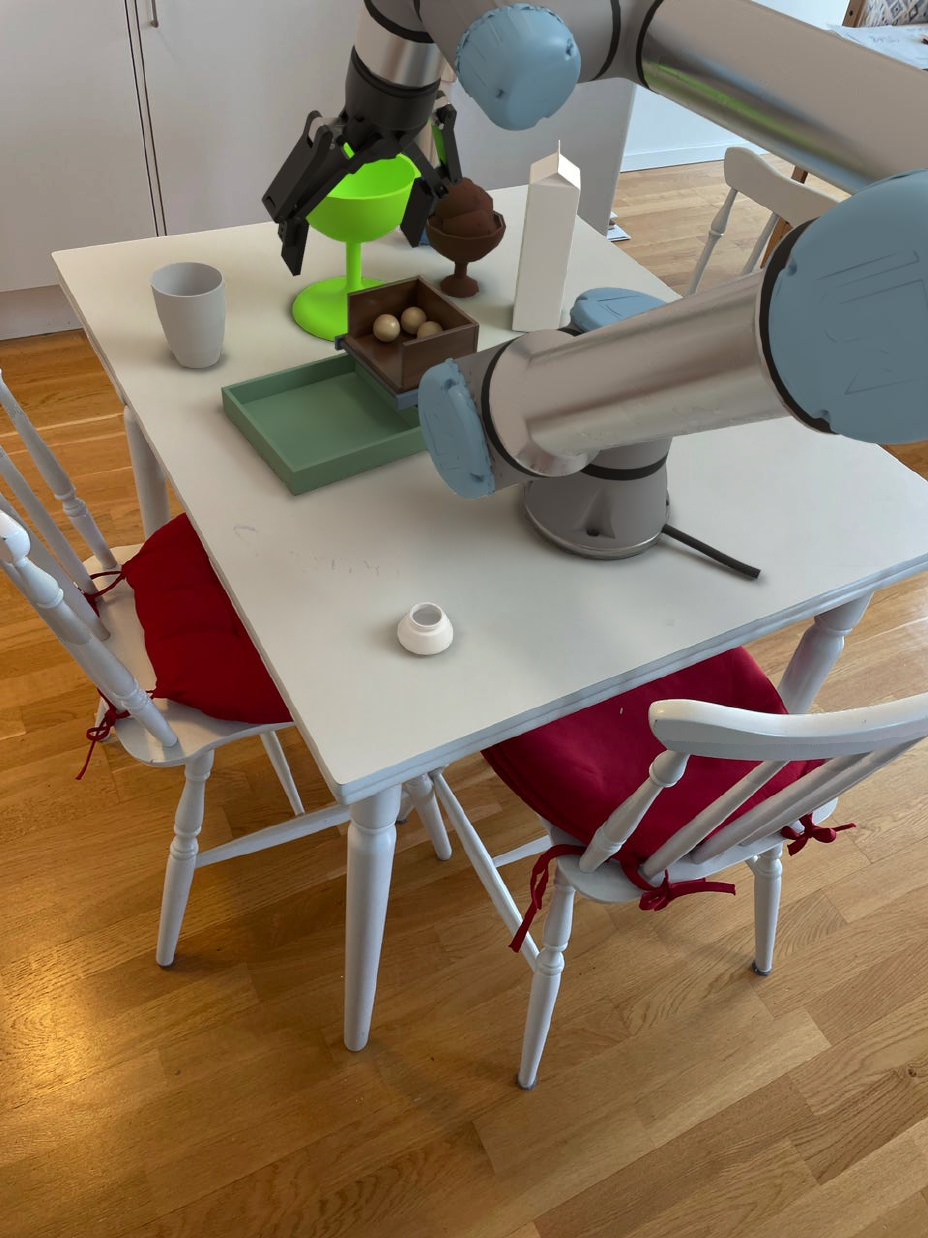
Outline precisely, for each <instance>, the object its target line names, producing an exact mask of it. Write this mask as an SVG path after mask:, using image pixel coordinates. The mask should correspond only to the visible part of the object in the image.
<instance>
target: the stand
mask: <svg viewBox="0 0 928 1238" xmlns="http://www.w3.org/2000/svg"><path fill="white" fill-rule="evenodd" d="M334 340H335V341H334V350H336V352H339V351H343V350H344V349H343V348H342V347H341V346H340V342H341V341H343V334H342V335H338V336H335V337H334ZM418 390H419V388H418V389H415V390H411V391H408V392H405V393H402V394H399V395H396V398H395V408H396V409H397V410H401V409H404V408H407V407H411V406H414V405H415V406H416V407H417V408H418Z"/></svg>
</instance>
